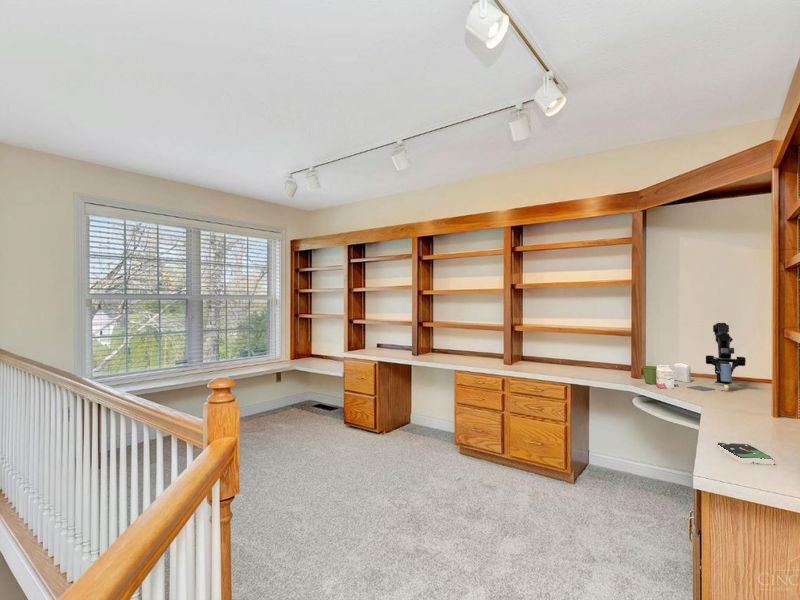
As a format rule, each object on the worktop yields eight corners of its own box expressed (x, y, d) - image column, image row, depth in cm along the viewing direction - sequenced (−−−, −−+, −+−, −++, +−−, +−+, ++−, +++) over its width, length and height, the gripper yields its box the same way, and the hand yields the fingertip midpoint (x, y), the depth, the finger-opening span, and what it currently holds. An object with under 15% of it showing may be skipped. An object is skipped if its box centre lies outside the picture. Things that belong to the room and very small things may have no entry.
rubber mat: (687, 389, 250) (686, 387, 250) (699, 388, 253) (699, 385, 253) (702, 392, 241) (702, 390, 241) (715, 391, 243) (715, 388, 243)
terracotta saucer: (716, 392, 241) (715, 384, 241) (725, 391, 242) (724, 383, 242) (728, 394, 234) (728, 386, 234) (737, 393, 236) (736, 385, 236)
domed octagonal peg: (718, 380, 240) (718, 363, 240) (725, 379, 241) (724, 363, 241) (727, 381, 235) (726, 364, 235) (733, 381, 236) (733, 364, 236)
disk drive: (716, 449, 153) (740, 464, 139) (716, 442, 153) (740, 456, 139) (748, 451, 151) (775, 466, 136) (747, 443, 151) (775, 458, 136)
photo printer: (692, 382, 270) (691, 364, 271) (687, 382, 269) (686, 364, 269) (677, 379, 280) (676, 362, 280) (672, 380, 279) (672, 362, 279)
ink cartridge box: (659, 388, 255) (658, 365, 255) (656, 387, 259) (655, 364, 260) (674, 388, 253) (673, 365, 253) (671, 387, 258) (670, 364, 258)
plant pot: (666, 384, 266) (666, 367, 266) (651, 385, 264) (651, 368, 264) (651, 381, 278) (651, 365, 278) (637, 382, 275) (636, 366, 275)
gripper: (705, 342, 247) (706, 362, 238) (744, 343, 236) (747, 364, 227) (705, 353, 253) (706, 373, 244) (743, 355, 242) (746, 376, 233)
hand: (726, 371), depth 237 cm, fingers closed on domed octagonal peg, 5 cm apart
